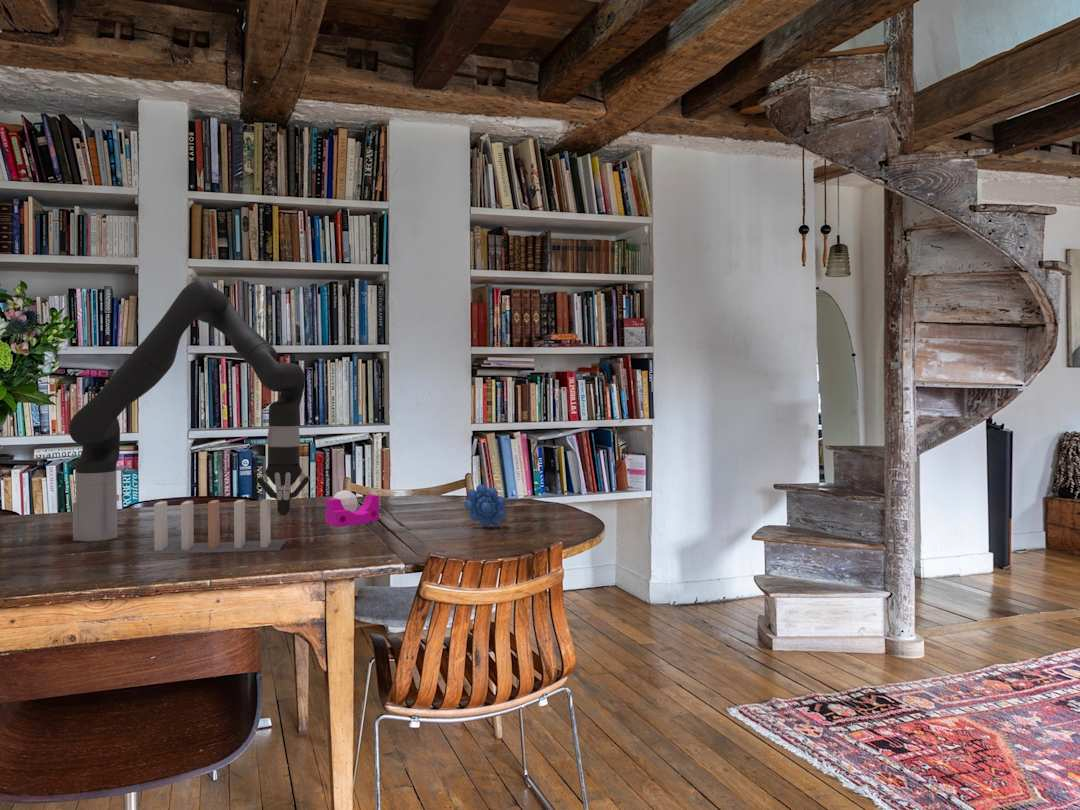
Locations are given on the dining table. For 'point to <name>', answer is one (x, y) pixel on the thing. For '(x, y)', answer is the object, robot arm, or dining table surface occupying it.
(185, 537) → the domino
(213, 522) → the domino
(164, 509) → the domino
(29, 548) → the dining table surface
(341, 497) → the geometric ball
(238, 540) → the domino
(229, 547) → the domino mat
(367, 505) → the toy block
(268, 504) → the domino
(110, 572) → the dining table surface
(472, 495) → the blue flower rosette
